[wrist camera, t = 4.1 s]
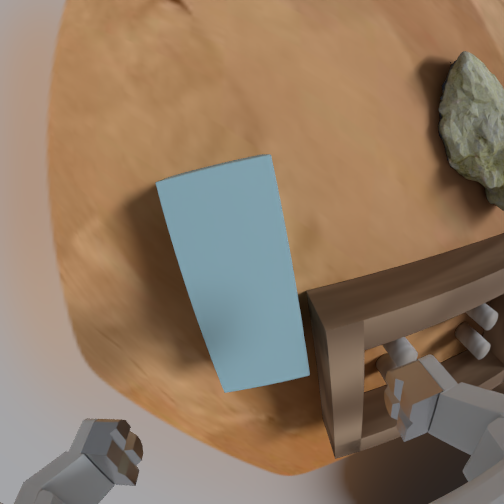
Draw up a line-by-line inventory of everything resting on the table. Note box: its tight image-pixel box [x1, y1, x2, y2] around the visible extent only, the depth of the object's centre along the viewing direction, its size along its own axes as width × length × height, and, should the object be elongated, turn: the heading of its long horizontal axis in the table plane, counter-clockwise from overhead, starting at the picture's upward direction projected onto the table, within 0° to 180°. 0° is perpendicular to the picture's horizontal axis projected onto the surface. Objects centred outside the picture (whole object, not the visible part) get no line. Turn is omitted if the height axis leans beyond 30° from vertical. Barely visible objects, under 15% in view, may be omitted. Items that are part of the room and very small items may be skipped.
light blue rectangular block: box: [156, 154, 310, 393], centre depth 16 cm, size 12×5×4 cm, turn 12°
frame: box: [306, 233, 504, 459], centre depth 18 cm, size 13×19×4 cm
